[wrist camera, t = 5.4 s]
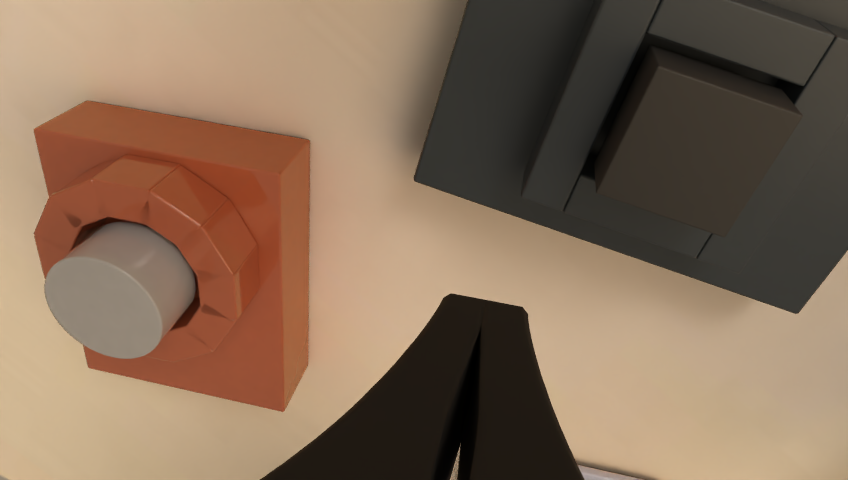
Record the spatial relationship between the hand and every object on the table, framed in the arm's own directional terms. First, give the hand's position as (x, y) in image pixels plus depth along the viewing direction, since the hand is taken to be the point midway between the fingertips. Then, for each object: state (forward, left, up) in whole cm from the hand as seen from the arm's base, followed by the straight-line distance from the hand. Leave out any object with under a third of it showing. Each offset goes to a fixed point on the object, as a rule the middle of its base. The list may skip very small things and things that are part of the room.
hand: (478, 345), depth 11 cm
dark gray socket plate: (+2, -4, -10) cm, 11 cm away
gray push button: (-5, +11, -6) cm, 13 cm away
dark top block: (+2, -4, -7) cm, 8 cm away
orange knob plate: (-7, +11, -10) cm, 16 cm away
